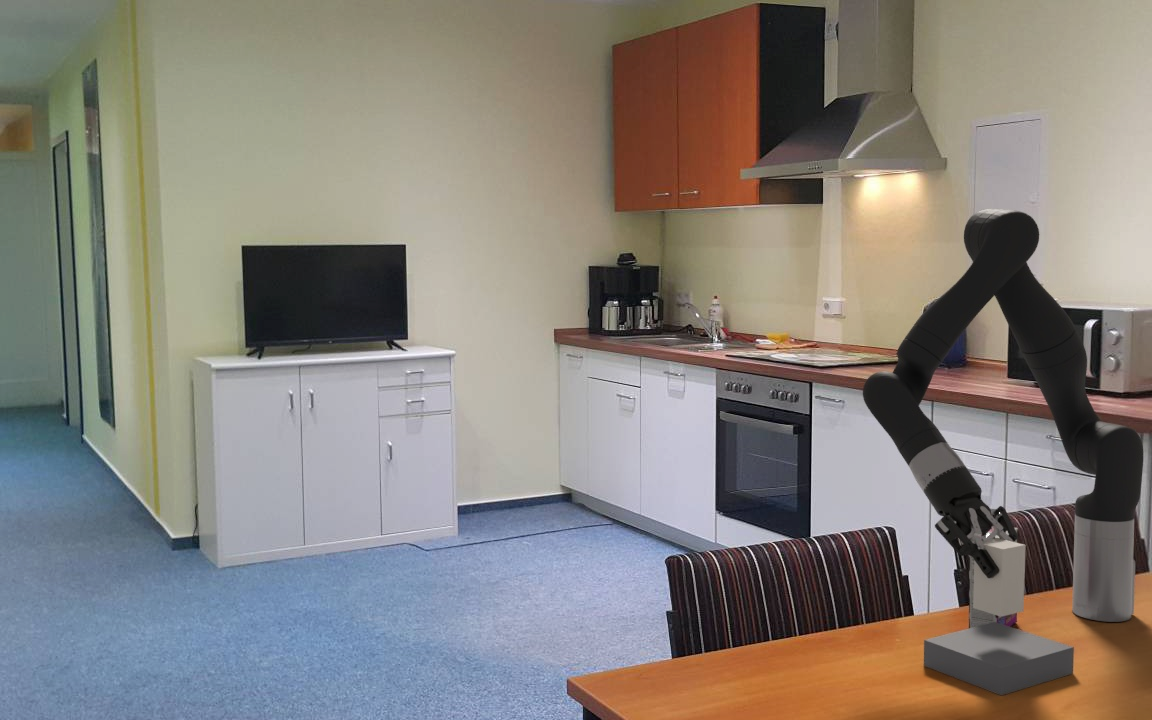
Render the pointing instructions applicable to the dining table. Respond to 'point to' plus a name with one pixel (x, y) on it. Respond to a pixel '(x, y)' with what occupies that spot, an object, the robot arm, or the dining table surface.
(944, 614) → the dining table surface
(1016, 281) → the robot arm
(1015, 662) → the base board
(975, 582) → the cream block
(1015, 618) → the candy bar box
